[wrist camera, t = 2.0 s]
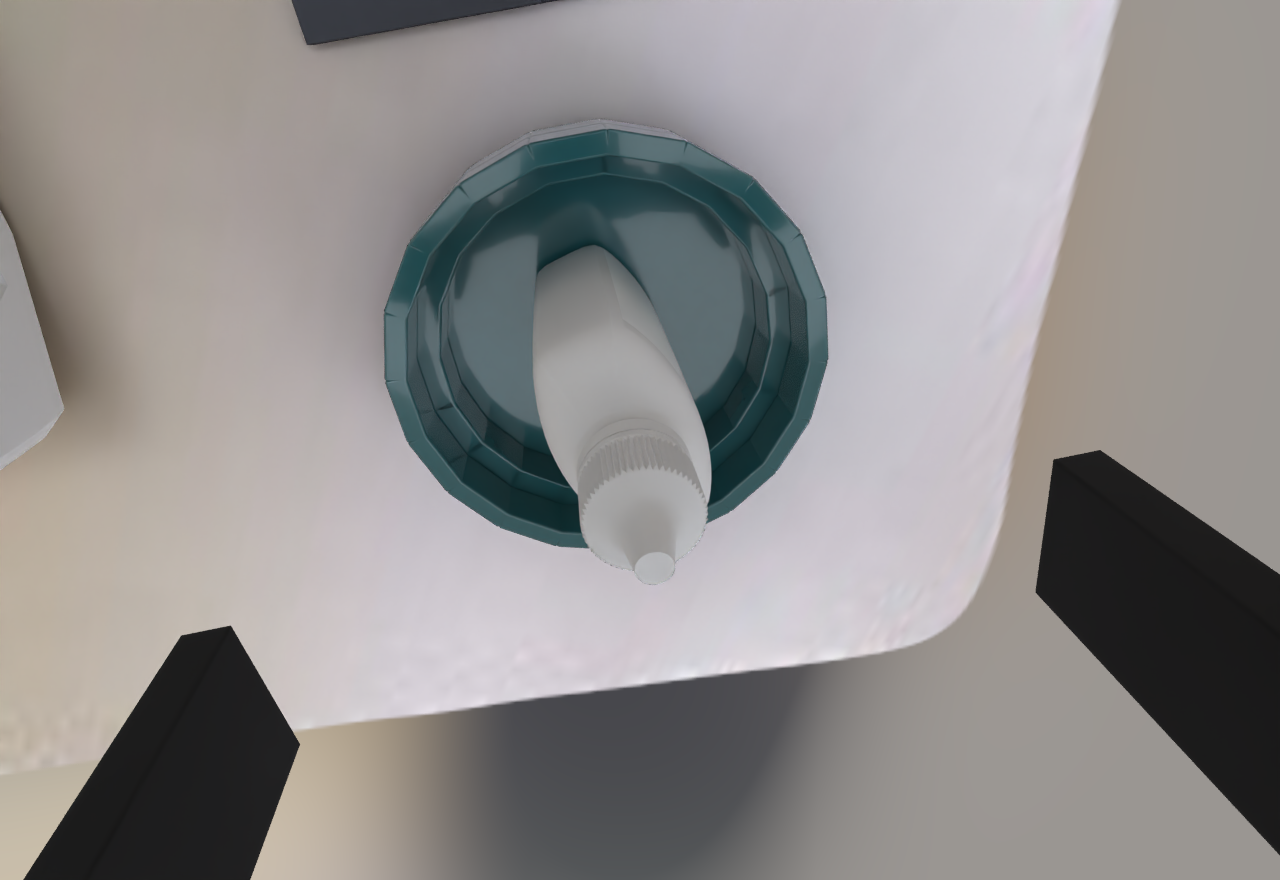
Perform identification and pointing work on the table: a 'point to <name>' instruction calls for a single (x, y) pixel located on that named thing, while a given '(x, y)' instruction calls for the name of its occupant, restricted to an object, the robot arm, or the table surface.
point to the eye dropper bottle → (618, 415)
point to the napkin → (386, 15)
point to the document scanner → (22, 361)
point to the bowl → (659, 261)
